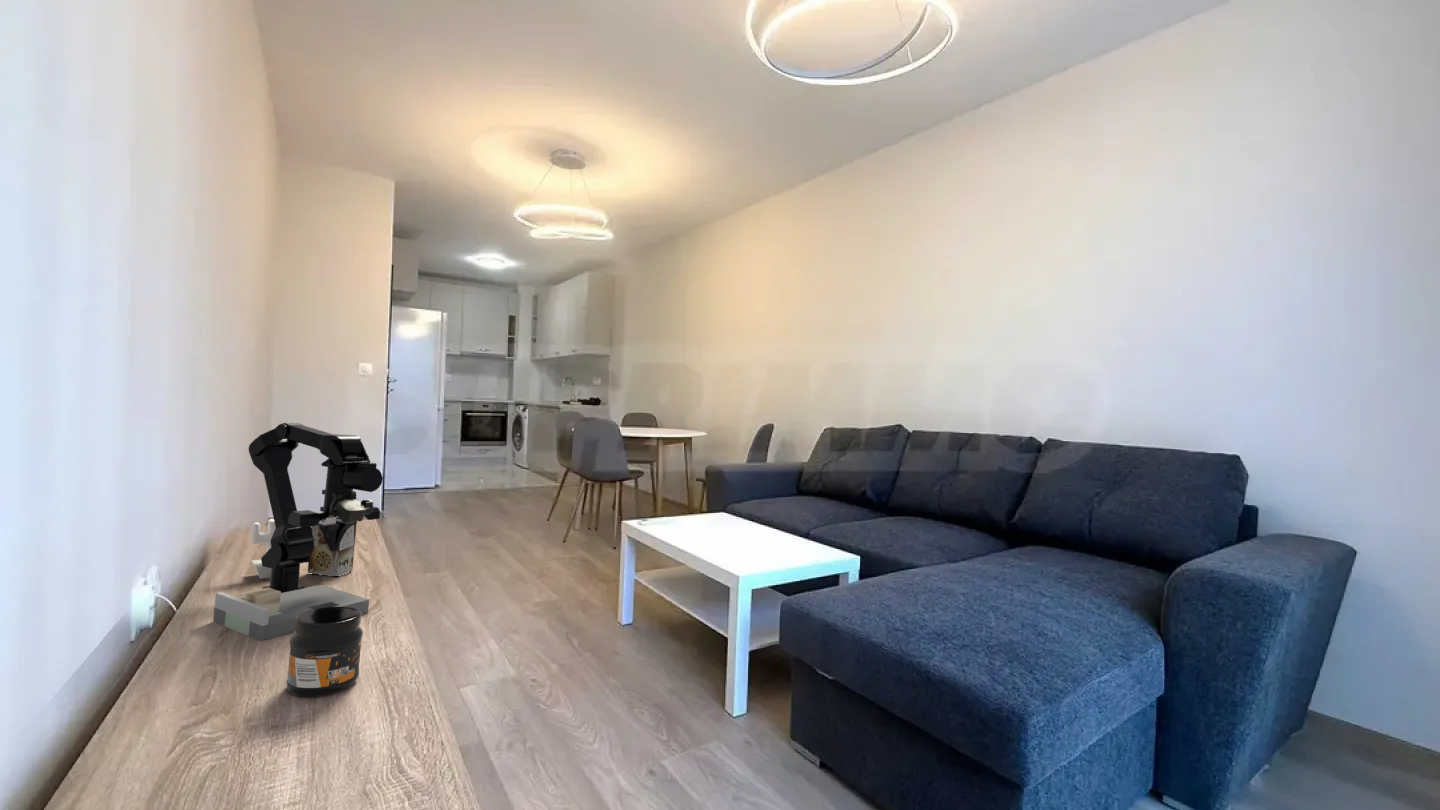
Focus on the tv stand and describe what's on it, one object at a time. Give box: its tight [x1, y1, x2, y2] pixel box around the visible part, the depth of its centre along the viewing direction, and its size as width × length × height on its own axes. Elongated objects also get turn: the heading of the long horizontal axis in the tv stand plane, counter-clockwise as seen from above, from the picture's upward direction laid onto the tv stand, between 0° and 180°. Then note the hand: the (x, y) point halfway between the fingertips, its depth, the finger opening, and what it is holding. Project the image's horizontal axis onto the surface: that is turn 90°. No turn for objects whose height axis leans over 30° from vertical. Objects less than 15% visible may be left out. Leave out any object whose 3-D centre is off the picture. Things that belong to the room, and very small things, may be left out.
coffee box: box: [307, 515, 358, 577], centre depth 165 cm, size 9×6×16 cm
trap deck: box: [212, 584, 370, 642], centre depth 132 cm, size 18×22×6 cm
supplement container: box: [286, 607, 364, 698], centre depth 103 cm, size 10×10×12 cm
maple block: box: [243, 588, 281, 613], centre depth 126 cm, size 4×4×4 cm
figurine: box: [250, 518, 276, 580], centre depth 159 cm, size 7×9×15 cm
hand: (332, 550), depth 144 cm, fingers closed
